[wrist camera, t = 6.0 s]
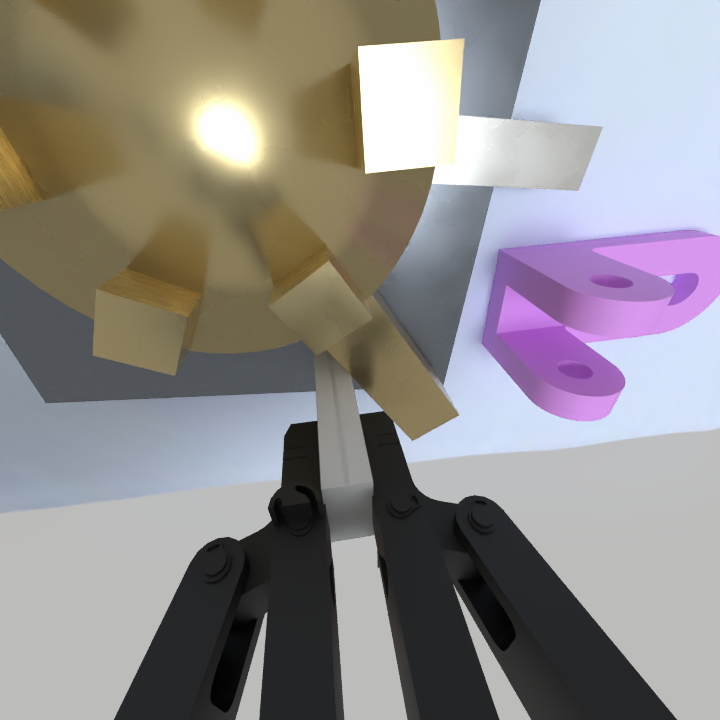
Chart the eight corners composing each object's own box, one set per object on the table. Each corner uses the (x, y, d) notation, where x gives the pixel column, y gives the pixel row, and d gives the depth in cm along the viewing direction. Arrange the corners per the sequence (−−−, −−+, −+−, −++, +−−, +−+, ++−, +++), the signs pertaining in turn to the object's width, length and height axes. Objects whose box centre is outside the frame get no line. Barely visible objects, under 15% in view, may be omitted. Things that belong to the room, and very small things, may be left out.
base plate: (78, 370, 17) (45, 403, 15) (-519, -735, 5) (-1130, -1382, 3) (483, 358, 20) (503, 383, 18) (705, -334, 8) (844, -500, 6)
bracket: (480, 342, 19) (552, 426, 14) (498, 248, 16) (601, 307, 10) (677, 317, 20) (821, 386, 15) (730, 224, 17) (940, 266, 11)
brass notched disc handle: (-142, 60, 8) (-523, -8, 4) (191, -482, 5) (-78, -1909, 2) (326, 441, 18) (330, 518, 14) (524, 323, 15) (593, 381, 12)
